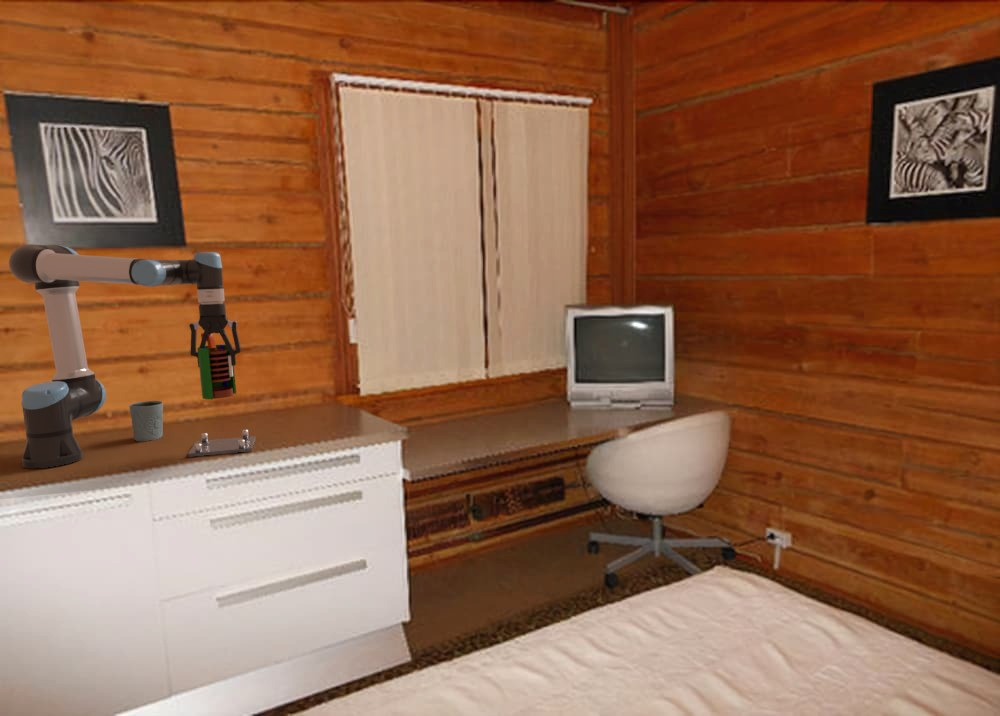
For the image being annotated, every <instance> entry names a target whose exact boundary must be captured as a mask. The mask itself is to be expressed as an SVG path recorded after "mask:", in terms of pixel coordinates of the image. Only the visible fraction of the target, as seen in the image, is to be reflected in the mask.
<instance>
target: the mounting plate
mask: <svg viewBox="0 0 1000 716" xmlns="http://www.w3.org/2000/svg"><path fill="white" fill-rule="evenodd" d="M241 433H242V437H240V436H239V437H230V438H229V437H228V438H218V439H217V438H216V439H209V437H208V436H209V435H208V432H202V433H201V434H200V435H201V440H196V441H195V442H194V444H193V446H192V447H191V449H190V450H189V452H188V453H187V456H188V457H190V458H194V457H193V456H201V457H203V456H202V455H212V456H216V455H215V454H223V455H227V454H226V453H233V454H239V453H238V452H244V453H252V452H253V449H254V446H255V443H256V436H255V435H252V436H249V429H242V432H241ZM254 442H255V443H254ZM253 445H254V446H253Z"/></svg>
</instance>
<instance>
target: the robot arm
mask: <svg viewBox="0 0 1000 716" xmlns="http://www.w3.org/2000/svg"><path fill="white" fill-rule="evenodd" d="M8 266H9V269H10V272H11V273H12V275H13V276H14V277H15V278H17V280H20V281H21V282H23V283H27V284H31V285H33V284H34V287H35V288H34V289H35V292H37V293H38V294H40V296H42V301H43V305H44V309H45V316H46V321H47V326H48V332H49V338H50V344H51V350H52V356H53V360H54V367H55V374H54V375H53V376H52V378H51V381H45V382H42V383H37V384H33V385H31V386H28V387H27V388H25V389H24V390H23V391H22V393H21V407H22V413H23V420H24V427H25V428H24V429H25V435H26V441H25V444H24V448H23V449H24V450H23V454H22V456H21V463H22V467H23V468H24V467H25V469H30V468H32V470H33V468H35V469H36V468H39V469H49V468H48V467H50V468H55V467H54V466H56V467H60V466H59V465H62V466H65V465H64V464H66V465H70V464H73V463H76V462H78V461H80V460H82V459H83V450H82V448H81V446H80V444H79V442H78V440H77V439H76V436H75V435H74V430H73V423H72V421H74V420H78V419H80V418H84V417H85V418H86V417H89V416H91V415H93V414H94V413H96V412H98V411H99V410H100V409H101V408H102V407H103V406H104V404H105V401H106V396H107V393H106V392H107V391H106V389H105V386H104V384H103V383H101V381H100V380H98V379H97V378H96V374H95V372H94V371H93V370H91V369H90V368H89V365H88V360H87V354H86V350H85V343H84V336H83V330H82V325H81V320H80V319H81V318H80V313H79V308H78V307H79V306H78V303H77V295H76V293H77V291H78V290H79V289H80V282H89V283H90V282H92V283H104V284H105V283H108V284H120V285H122V284H124V285H137V286H142V287H150V288H152V287H159V286H160V287H161V286H163V287H165V286H180V285H181V286H183V285H196V289H197V301H198V303H199V305H198V310H199V311H198V315H199V320H198V322H192V323H189V329H190V332H191V333H190V335H191V336H190V353H189V354H190V356H191V357H196V358H197V367H198V368H199V359H198V351H197V338H198V337H197V335H198V334H197V333H198V331H197V330H198V329H199V327H201V328H202V330H203V333H204V334H203V337H202V339H201V341H200V344H199V346H198V347H199V348H205V346H207V343H208V342H207V337H208V334H212V335H213V334H219V335H220V336H221V338H222V340H223V343H224V344H226V346H227V348H228V350H229V352H230V355H229V356H228V362H229V373H230V377H232V376H233V367H232V366H234V367H235V366H236V364H237V361H236V360H237V359H236V355H238V354H240V353H241V351H242V348H241V343H240V340H239V339H240V338H239V333H238V330H237V327H238V321H236V320H234V321H232V320H229V319H228V318H227V312H226V304H225V303H224V302H225V301H226V300H225V289H224V279H223V278H224V276H223V264H222V259H221V254H219V252H215V251H213V252H212V251H209V252H208V251H206V252H205V251H202V252H195V253H194V254H193V258H192V259H151V258H150V259H149V258H148V259H147V258H133V257H132V258H130V257H118V256H117V257H116V256H104V255H102V256H101V255H88V254H84V255H83V254H79V253H78V252H77V251H75V249H73V248H71V247H67V246H63V245H58V244H56V245H55V244H24V245H21V246H19V247H17V248H15V250H14V251H13V252H12V253H11V254H10V256H9V259H8ZM228 325H229V328H230V329H231V333H232V338H233V343H234V347H235V349H234V348H233V345H232V344H231V343H232V342H231V341H230V339H229V337H228V335H227V333H226V330H225V328H226V327H227V326H228ZM81 458H82V459H81ZM75 461H76V462H75ZM72 462H73V463H72ZM69 463H70V464H69Z"/></svg>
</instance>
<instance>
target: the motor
mask: <svg viewBox="0 0 1000 716" xmlns="http://www.w3.org/2000/svg"><path fill="white" fill-rule="evenodd" d="M203 334H204V332H202V333H200V337H201V338H200V339H201V340H202V337H203ZM206 343H207V345H205V348H199V347H200V346H198V347H196V350H197V352H198V359H199V367H198V368H199V378H200V386H201V395H202V399H203V400H214V399H225V398H230V397H232V396H234V395H236V394H237V388H236V386H237V385H236V377H235V376H236V375H235V365H234V366H232V367H233V376H232V377H230V373H229V362H228V356H229V355H230V352H229V350H228V348H227V346H226V344H225V343H224V344H223V343H222V344H216V340H215V337H214V334H213V333H212V334H208V337H207V342H206ZM198 359H197V360H198Z"/></svg>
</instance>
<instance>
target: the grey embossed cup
mask: <svg viewBox="0 0 1000 716" xmlns="http://www.w3.org/2000/svg"><path fill="white" fill-rule="evenodd" d="M128 405H129V412H130V417H131V426H132V430H133V438H134V441H135V440H136V442H150V441H149V440H152V441H156V439H157V440H160V439H162V438H163V437H162V436H164V433H163V432H164V430H163V429H164V426H163V425H164V422H163V421H164V418H163V417H164V412H163V411H164V402H163V401H161V400H159V401H158V400H146V401H137V402H132V403H131V404H128ZM161 437H162V438H161ZM159 438H160V439H159Z"/></svg>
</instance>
